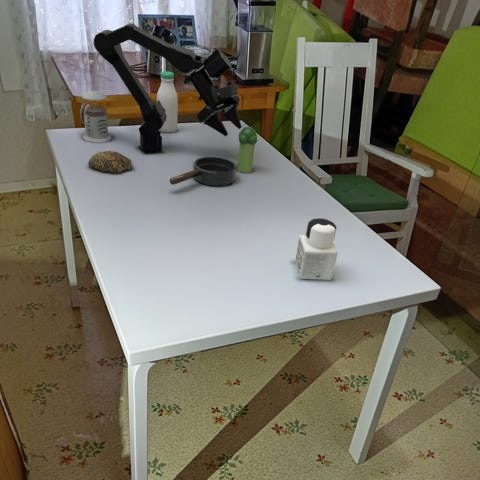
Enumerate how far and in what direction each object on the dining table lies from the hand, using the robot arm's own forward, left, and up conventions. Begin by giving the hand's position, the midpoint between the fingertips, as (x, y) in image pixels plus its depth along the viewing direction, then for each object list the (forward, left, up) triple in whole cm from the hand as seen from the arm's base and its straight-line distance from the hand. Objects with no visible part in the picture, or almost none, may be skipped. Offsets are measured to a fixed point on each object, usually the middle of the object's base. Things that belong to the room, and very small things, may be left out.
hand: (233, 131), depth 167 cm
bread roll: (-37, +11, -11) cm, 40 cm away
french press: (-34, +37, -11) cm, 51 cm away
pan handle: (-22, -12, -8) cm, 26 cm away
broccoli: (+3, -4, -11) cm, 12 cm away
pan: (-10, -7, -11) cm, 17 cm away
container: (-13, -64, -11) cm, 67 cm away
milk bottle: (-6, +39, -11) cm, 41 cm away
